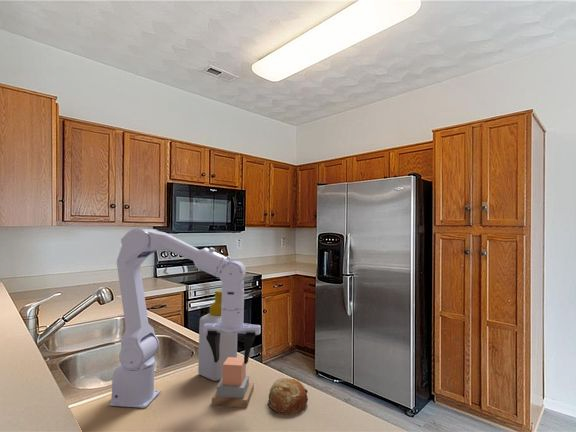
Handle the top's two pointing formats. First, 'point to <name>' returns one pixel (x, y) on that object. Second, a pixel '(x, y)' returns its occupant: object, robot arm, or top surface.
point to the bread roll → (287, 396)
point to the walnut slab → (234, 399)
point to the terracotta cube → (234, 371)
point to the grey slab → (232, 389)
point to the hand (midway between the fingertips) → (231, 361)
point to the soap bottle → (225, 347)
